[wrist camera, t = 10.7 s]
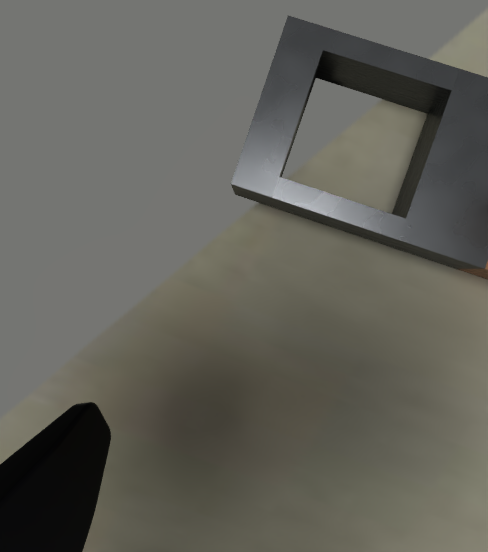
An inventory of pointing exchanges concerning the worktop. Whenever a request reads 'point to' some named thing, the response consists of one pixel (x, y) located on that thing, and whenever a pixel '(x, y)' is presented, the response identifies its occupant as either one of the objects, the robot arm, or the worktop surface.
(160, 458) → the worktop surface
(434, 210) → the grey copper flat frame
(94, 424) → the robot arm
